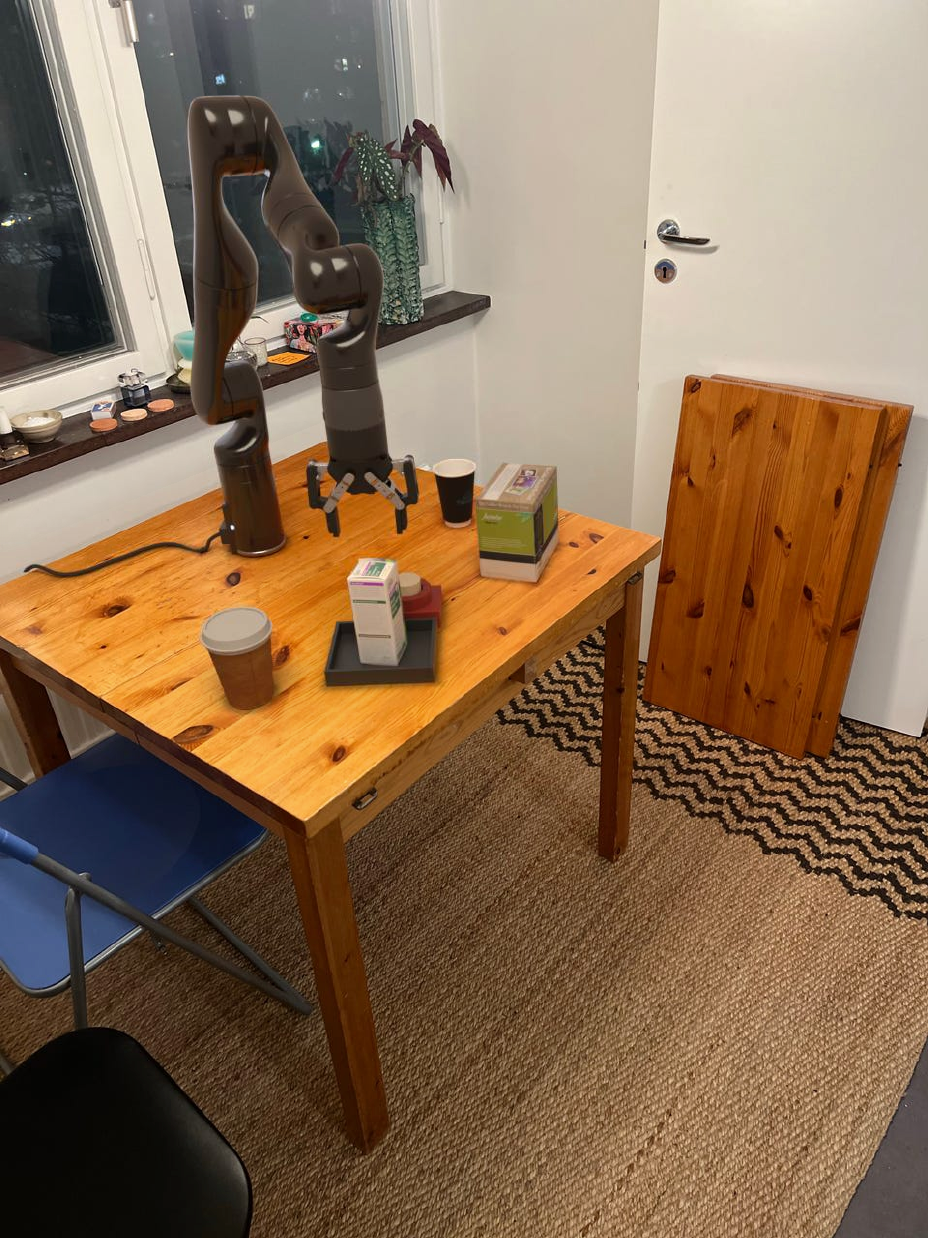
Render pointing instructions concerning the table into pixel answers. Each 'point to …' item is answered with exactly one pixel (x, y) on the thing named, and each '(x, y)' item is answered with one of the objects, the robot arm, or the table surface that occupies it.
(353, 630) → the tray
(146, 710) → the table surface
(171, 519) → the table surface
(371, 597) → the syrup box
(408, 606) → the red square pod holder
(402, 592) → the button
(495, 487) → the tea box
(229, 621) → the disposable coffee cup
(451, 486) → the dixie cup
